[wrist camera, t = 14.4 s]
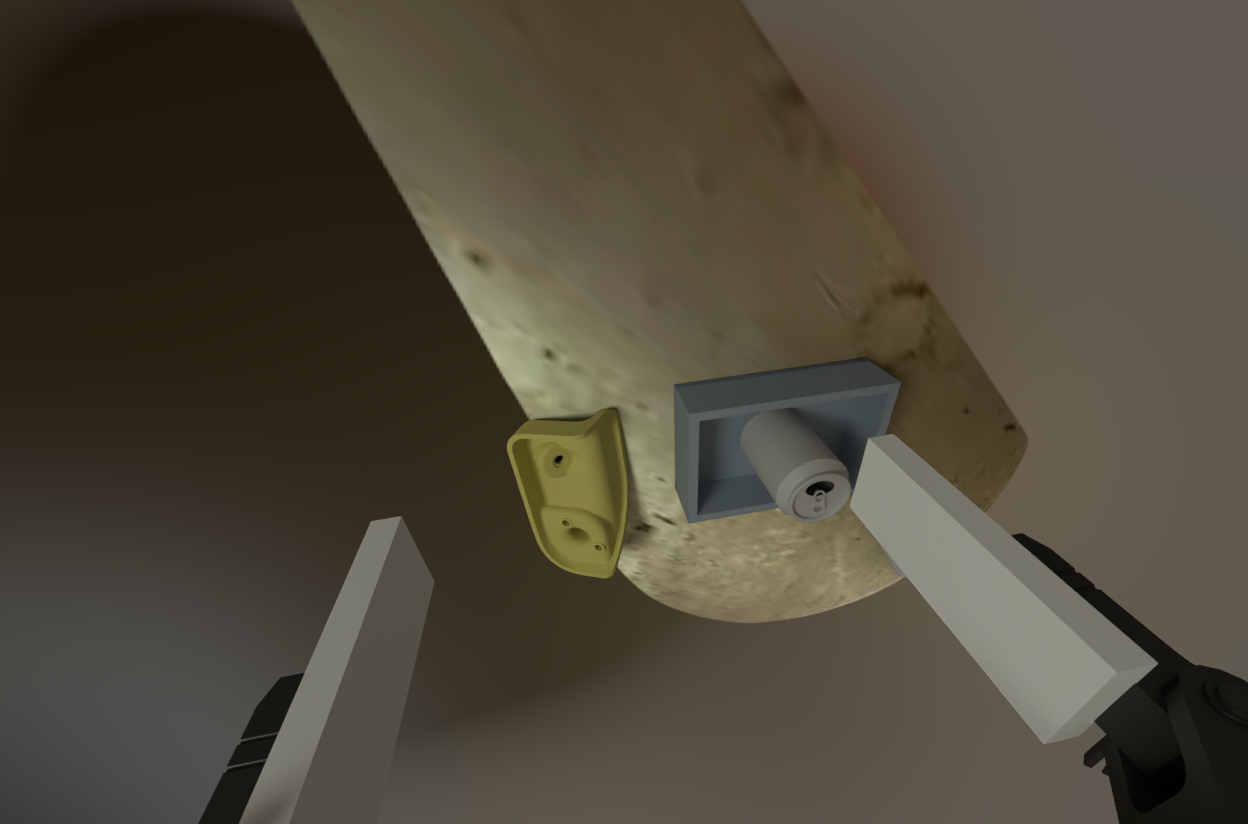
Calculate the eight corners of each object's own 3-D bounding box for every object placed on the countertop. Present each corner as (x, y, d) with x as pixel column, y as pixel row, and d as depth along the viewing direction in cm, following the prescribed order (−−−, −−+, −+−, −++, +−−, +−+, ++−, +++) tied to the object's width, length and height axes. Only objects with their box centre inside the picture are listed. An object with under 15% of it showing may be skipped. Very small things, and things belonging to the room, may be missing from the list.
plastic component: (501, 432, 45) (592, 437, 42) (534, 398, 51) (616, 400, 48) (545, 568, 54) (621, 581, 51) (568, 526, 60) (638, 535, 57)
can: (803, 399, 51) (868, 465, 41) (791, 452, 55) (848, 523, 45) (740, 406, 50) (791, 475, 40) (733, 459, 54) (777, 533, 44)
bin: (674, 384, 48) (689, 414, 43) (864, 357, 50) (901, 382, 45) (675, 488, 56) (688, 523, 51) (839, 461, 58) (867, 492, 53)
